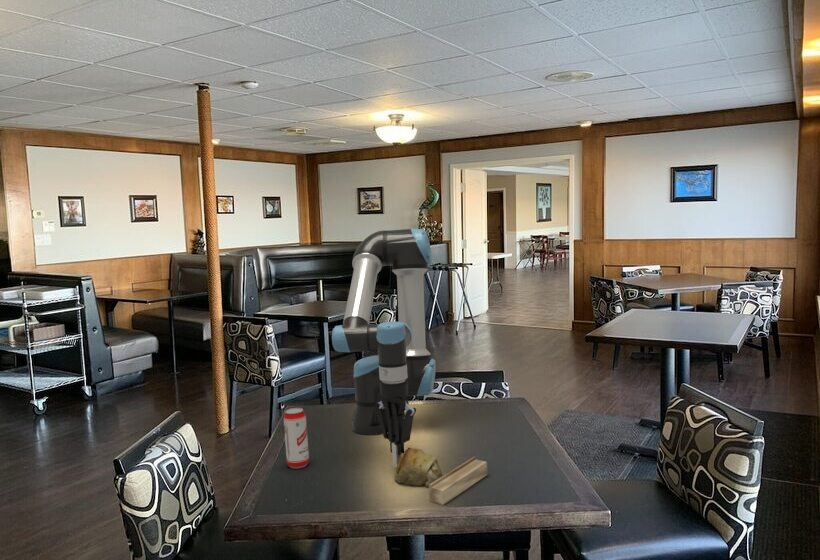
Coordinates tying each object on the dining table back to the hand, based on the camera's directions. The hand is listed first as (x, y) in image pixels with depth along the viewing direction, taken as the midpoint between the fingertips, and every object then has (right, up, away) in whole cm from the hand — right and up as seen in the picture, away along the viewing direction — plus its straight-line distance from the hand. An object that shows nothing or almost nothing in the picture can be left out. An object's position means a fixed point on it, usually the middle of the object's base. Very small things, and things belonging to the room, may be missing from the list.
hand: (398, 465), depth 168 cm
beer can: (-28, -3, +8) cm, 30 cm away
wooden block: (+16, -2, -12) cm, 20 cm away
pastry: (+5, -2, -5) cm, 8 cm away
